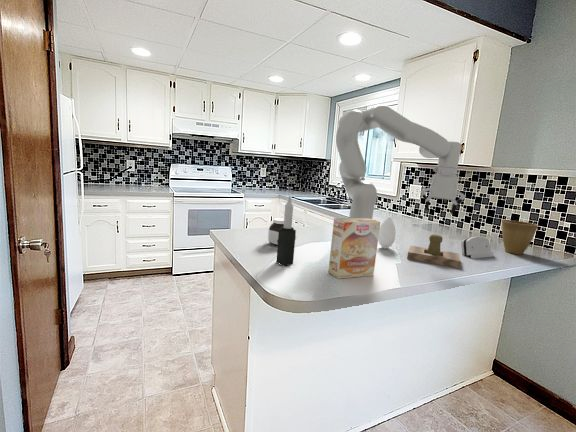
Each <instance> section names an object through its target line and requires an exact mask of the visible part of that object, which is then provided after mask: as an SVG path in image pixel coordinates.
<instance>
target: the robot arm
mask: <svg viewBox="0 0 576 432" xmlns="http://www.w3.org/2000/svg"><path fill="white" fill-rule="evenodd" d="M378 128H379V129H380V130H381V131H383V132H385V133H386V134H388V135H390V136H391V137H393V138H394V139H395V140H397V141H400V142H403V143H408V144H412V145H416V146H417V147H419V148H418V151H419V154H420V155H421V157H423V158H426V159H438V162H437V167H434V168H433V169H432V171H433V172H435V173H434V174H433V176H432V180H431V184H430V187H427V188H424V189H421V190H420V193H421V196H422V198H423V199H424V201H425V206H424V209H426V212H428V211H429V208H430V200H432V199H439V200H448V201H451V202H452V204H451V210H450V214H451V215H454V213H456V210H457V205H459V204H460V203H462V202H463V201H464V200H465V198H466V197H467V195H465V194H464V193H462V192H461V191H459V190H458V186H459V177H458V176H457V173H458V166H459V161H460V156H461V151H462V150H461V149H462V143H460V142H458V141H448V139H446V138H445V137H444V136H443V135H441V134H439V133H438V132H436V131H434V130H432V129H431V128H428V127H426V126H423V125H421V124H419V123H416V122H414V121H411V120H410V119H408V118H407V117H405V116H404V115H402V114H401V113H399V112H397V111H396V110H394V109H393V108H392V107H390V106H388V105H386V104H382V103H381V104H377V105H375V106H373V107H371V108H367V109H364V110H358V109H353V110H350V111H348V112H346V113H344V114H343V115H342V116H341V117H340V118H339V121H338V128H337V131H336V135H335V144H336V148H337V152H338V154H339V158H340V161H341V162H340V164H339V166H338V167H339V169H338V171H339V174H340V177H341V180H342V183H343V186H344V188H345V192H346V193H347V195H348V198H350V199H351V200H352V201H351V205H350V208H349V215H348V217H349V218H369V219H373V216H374V211H375V205H376V202H377V197H378V192H377V191H378V190H377V188H376V186H375V185H374V184H373V183H372V182H370V181H368V180H367V181H366V179H365V175H366V172H367V165H366V162H365V159H364V156H363V154H362V151H361V148H360V145H359V141H358V140H359V133H361V132H367V131H370V130H373V129H378ZM426 192H429V194H428V195H429V196H428V197H427V196H426ZM457 195H458V196H460V197H459V198H458V199H457V200H456V198H457Z"/></svg>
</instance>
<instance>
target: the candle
mask: <svg viewBox="0 0 576 432" xmlns="http://www.w3.org/2000/svg"><path fill="white" fill-rule="evenodd" d="M291 198H292V196H290V195H289V196H288V199H287V202H286V203H285V205H284V216H283V219H284V227H281V229H279V234H278V247H277V250H276V262H278V263H280V264H282V265H281V266H283V265H287V266H289V264H290V265H293V264H294V256H295V247H296V246H295V245H296V243H295V242H296V240H295V235H296V233H297V229H294V227H292V224H293V216H294V215H293V213H294V205H293V203H292V199H291ZM296 236H297V235H296ZM278 263H277V264H278ZM280 264H279V265H280Z"/></svg>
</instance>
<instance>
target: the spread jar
mask: <svg viewBox="0 0 576 432" xmlns="http://www.w3.org/2000/svg"><path fill="white" fill-rule="evenodd" d="M272 219H273V220H272V223H271V224H270V225H269V228H268V233H267V234H268V237H267V240H268V243H269V244H270V245H271V246H273V247H276V246H278V234H279V229H281V227H284V217H283V218H282V217H277V218H275V217H274V218H272ZM296 240H297V235H295V241H296Z"/></svg>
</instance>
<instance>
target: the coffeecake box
mask: <svg viewBox="0 0 576 432" xmlns="http://www.w3.org/2000/svg"><path fill="white" fill-rule="evenodd" d="M381 224H382V222H381V221H380V220H376V219H373V218H372V219H369V218H348V217H347V218H346V217H345V218H343V217H340V218H339V217H336V218H333V223H332V225H333V227H332V234H331V242H330V243H331V244H330V250H329V251H330V253H329V262H328V263H329V264H328V270H327V271H328V273H329V274H331V275H333V277H335V278H336V279H338V280H340V279H349V278H350V279H351V278H352V279H353V278H359V277H360V278H361V277H372V276H374V274H375V266H376V258H377V252H378V251H377V250H378V244H379V241H378V237H379V230H380V226H381Z"/></svg>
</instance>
